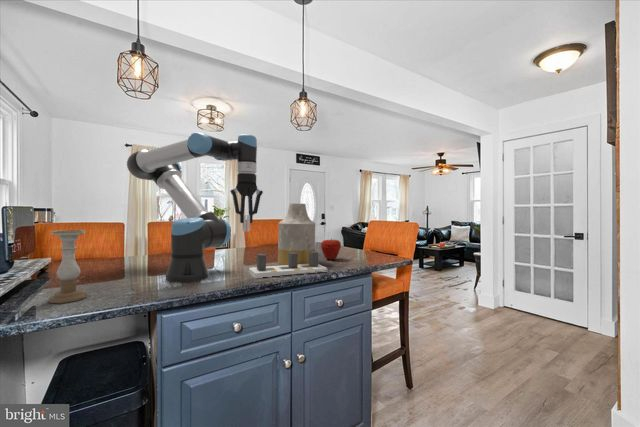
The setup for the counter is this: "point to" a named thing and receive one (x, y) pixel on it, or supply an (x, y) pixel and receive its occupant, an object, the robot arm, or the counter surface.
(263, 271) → the switch board
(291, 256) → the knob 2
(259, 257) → the block
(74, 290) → the candle holder
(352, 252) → the counter surface
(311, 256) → the knob
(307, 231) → the vase
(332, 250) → the apple
